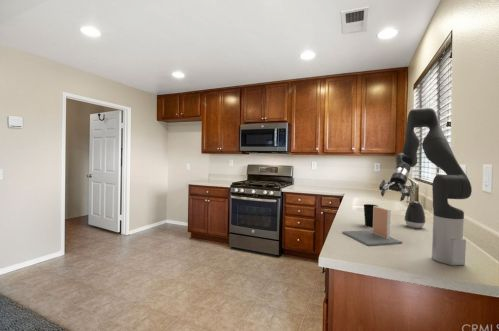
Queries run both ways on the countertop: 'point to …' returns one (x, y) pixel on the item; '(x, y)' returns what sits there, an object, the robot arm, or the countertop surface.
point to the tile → (381, 221)
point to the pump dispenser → (415, 215)
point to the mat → (370, 238)
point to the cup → (368, 214)
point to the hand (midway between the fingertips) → (391, 197)
